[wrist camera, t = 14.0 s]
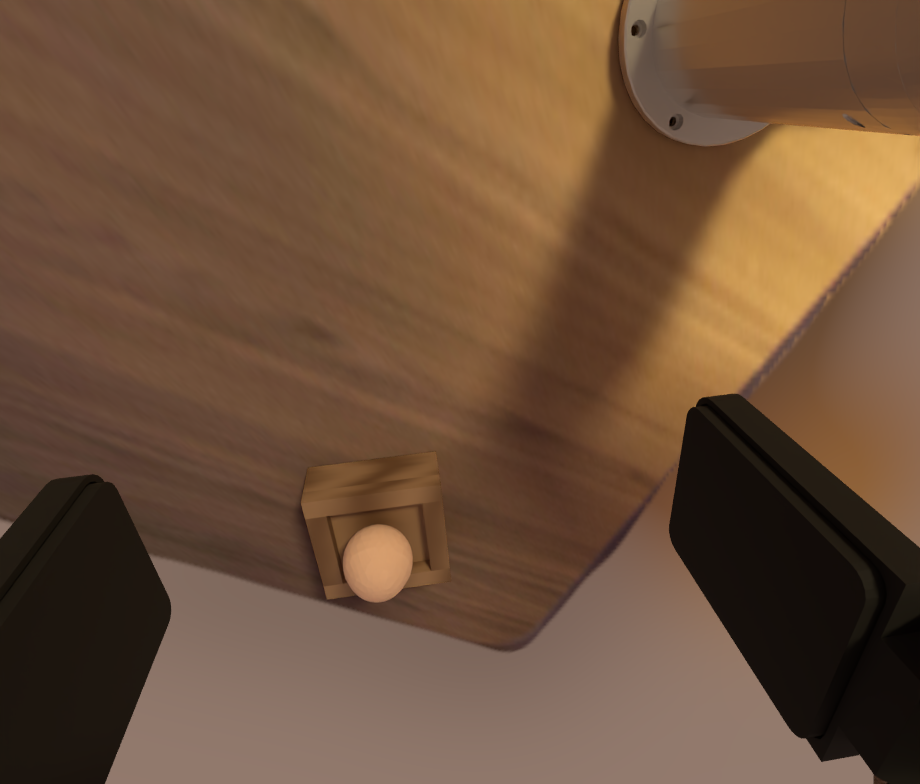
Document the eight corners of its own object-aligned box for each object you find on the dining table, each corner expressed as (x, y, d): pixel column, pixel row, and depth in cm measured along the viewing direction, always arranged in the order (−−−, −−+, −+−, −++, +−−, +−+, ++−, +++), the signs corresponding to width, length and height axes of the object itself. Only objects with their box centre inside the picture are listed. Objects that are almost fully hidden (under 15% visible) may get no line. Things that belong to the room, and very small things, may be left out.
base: (435, 451, 43) (440, 484, 40) (446, 544, 48) (451, 581, 44) (307, 467, 42) (300, 503, 39) (331, 560, 47) (327, 599, 44)
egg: (389, 498, 41) (390, 557, 36) (422, 540, 44) (428, 600, 38) (331, 528, 42) (324, 589, 37) (368, 567, 44) (366, 630, 39)
